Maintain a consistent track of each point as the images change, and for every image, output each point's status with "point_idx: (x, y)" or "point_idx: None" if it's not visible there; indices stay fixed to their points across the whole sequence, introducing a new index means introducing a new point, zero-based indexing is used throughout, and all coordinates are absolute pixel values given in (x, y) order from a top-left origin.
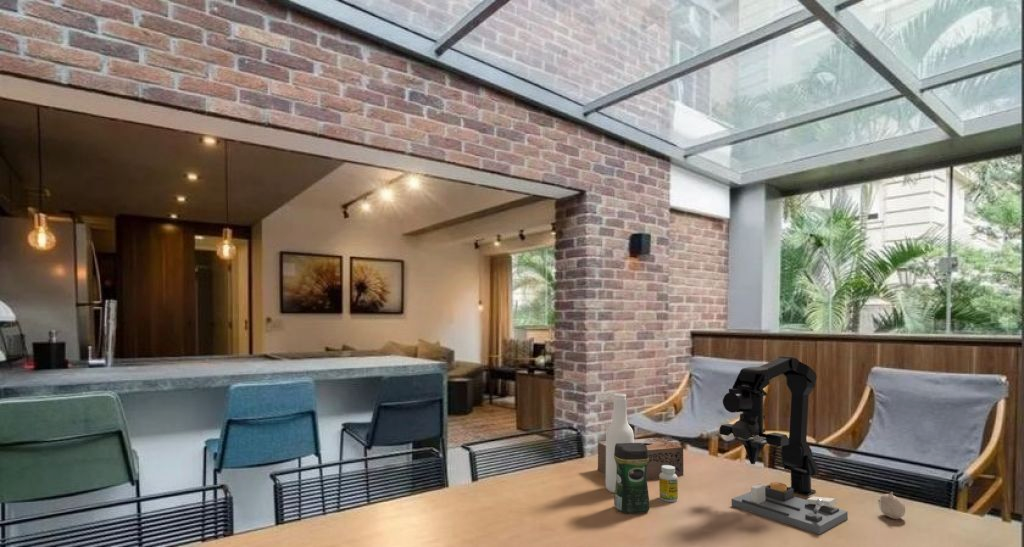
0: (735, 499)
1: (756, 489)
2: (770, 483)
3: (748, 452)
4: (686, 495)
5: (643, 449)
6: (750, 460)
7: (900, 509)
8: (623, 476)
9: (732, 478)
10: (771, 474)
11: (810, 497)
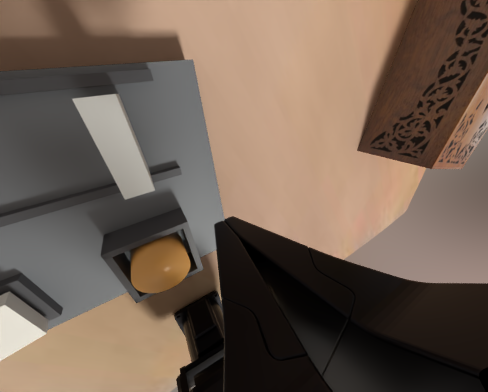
0: (181, 69)
1: (73, 99)
2: (181, 253)
3: (294, 258)
4: (311, 9)
5: None
6: (241, 226)
7: None
8: None
9: (300, 230)
10: None
11: (29, 323)
